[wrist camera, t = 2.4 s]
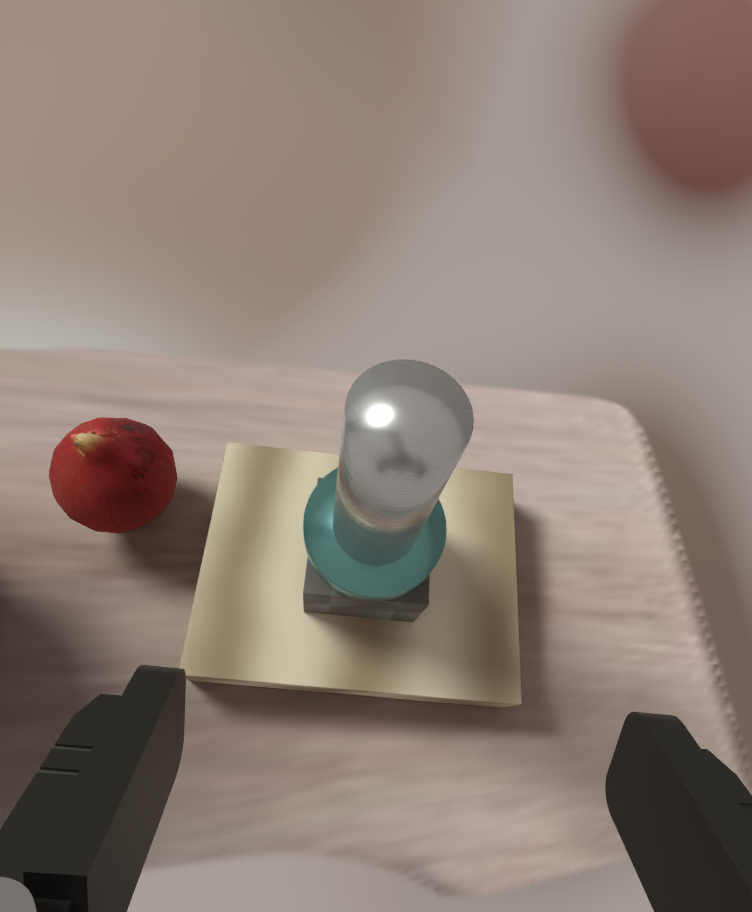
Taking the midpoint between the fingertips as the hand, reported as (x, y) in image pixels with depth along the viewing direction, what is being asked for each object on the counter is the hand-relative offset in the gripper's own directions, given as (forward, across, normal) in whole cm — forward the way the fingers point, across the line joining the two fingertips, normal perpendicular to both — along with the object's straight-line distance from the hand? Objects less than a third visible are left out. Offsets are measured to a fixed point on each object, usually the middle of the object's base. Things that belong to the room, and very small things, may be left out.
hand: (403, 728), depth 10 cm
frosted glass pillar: (+18, 0, +6) cm, 19 cm away
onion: (+22, +13, +7) cm, 27 cm away
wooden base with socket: (+20, 0, +9) cm, 22 cm away
